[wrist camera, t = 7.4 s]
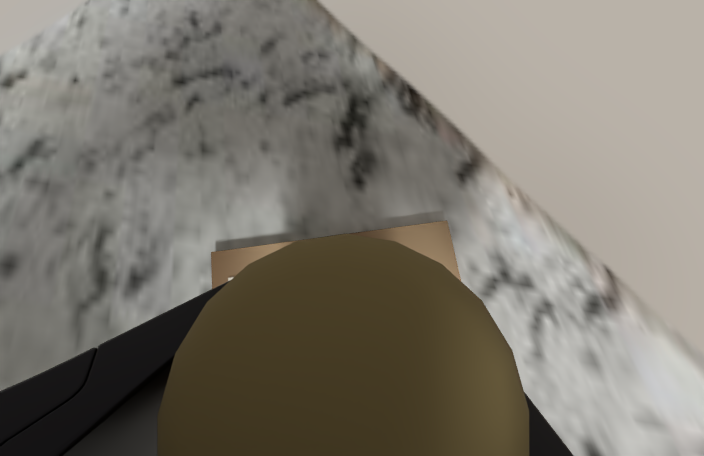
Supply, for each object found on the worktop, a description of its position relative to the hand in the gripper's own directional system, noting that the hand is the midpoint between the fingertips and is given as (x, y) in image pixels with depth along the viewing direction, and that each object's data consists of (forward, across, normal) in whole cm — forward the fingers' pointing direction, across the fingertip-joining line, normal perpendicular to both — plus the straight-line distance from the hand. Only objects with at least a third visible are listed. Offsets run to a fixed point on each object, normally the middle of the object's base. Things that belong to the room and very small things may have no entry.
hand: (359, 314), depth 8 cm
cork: (+4, 0, +6) cm, 7 cm away
